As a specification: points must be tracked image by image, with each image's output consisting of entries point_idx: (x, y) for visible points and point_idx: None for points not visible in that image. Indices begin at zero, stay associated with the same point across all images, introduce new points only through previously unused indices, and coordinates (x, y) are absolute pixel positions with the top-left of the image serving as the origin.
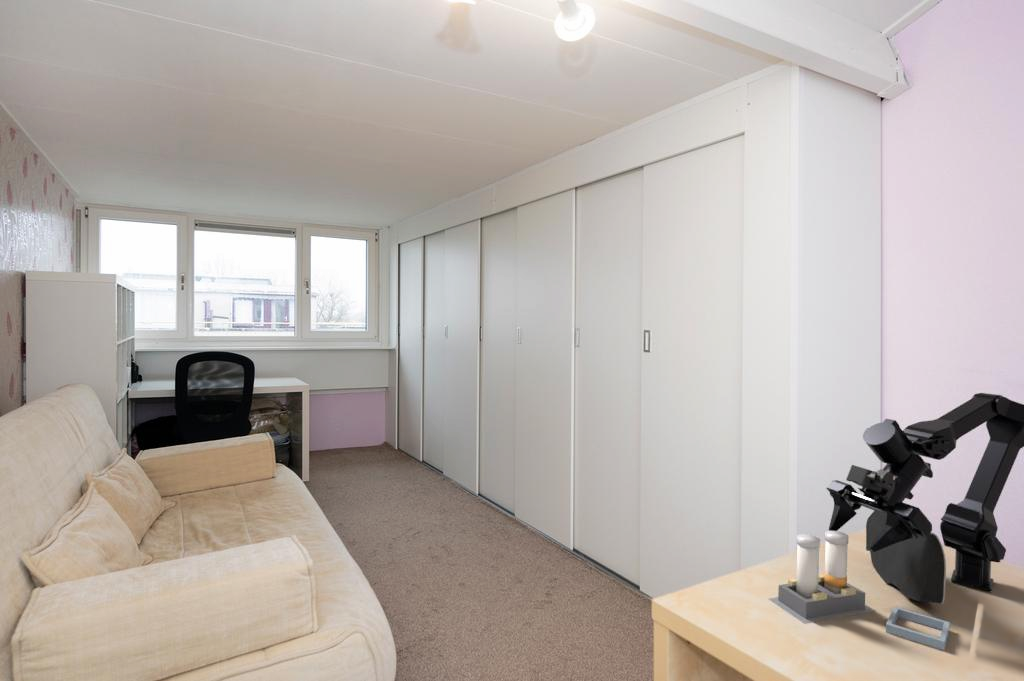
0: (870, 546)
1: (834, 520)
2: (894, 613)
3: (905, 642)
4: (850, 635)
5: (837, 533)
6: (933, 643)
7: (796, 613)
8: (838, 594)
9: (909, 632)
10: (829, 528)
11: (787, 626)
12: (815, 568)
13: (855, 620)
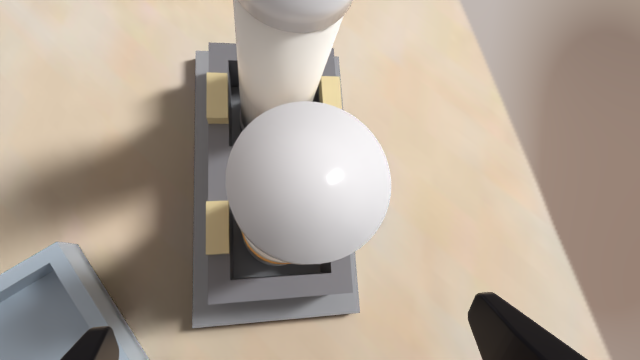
0: (101, 335)
1: (543, 355)
2: None
3: None
4: (123, 147)
5: (330, 203)
6: None
7: None
8: (225, 189)
9: None
10: (493, 296)
11: (217, 25)
12: (236, 46)
13: (187, 229)
